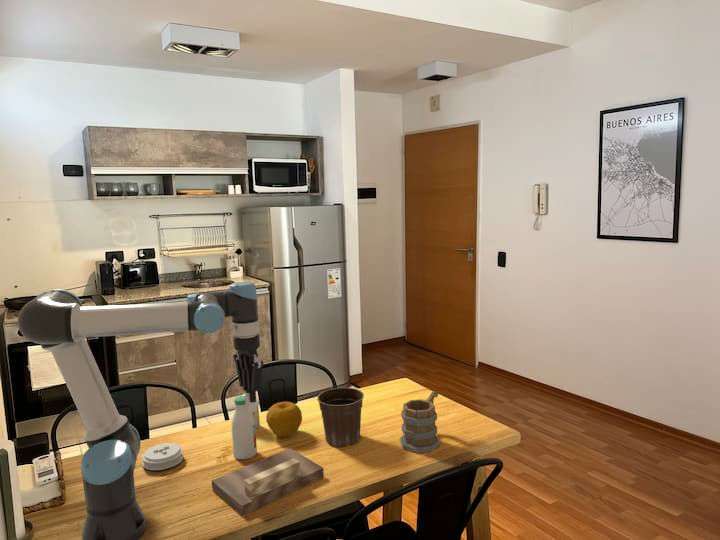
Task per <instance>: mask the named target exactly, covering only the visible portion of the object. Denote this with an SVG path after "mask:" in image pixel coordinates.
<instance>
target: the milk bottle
mask: <svg viewBox="0 0 720 540" xmlns="http://www.w3.org/2000/svg"><path fill="white" fill-rule="evenodd" d="M234 406H235V409H234V413H233V415H232V420H231V437H232V449H233V450H232V452H233V457H234V458H235V459H238V460H241V459H242V460H250V459H251V458H254V457H255V456H256V455H257V453H258V446H257V432H256V430H257V429H255V420H254V417H253V415H252V413H247V412H246V401H245V396H242V395H240V396H236V397H235V398H234Z"/></svg>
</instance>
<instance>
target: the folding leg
mask: <svg viewBox="0 0 720 540" xmlns="http://www.w3.org/2000/svg"><path fill="white" fill-rule="evenodd" d="M298 475H300V462H299V461H298V460H296V459H294V458H293V459H291V460H289V461H286V462H284V463H282V464H279V465H277V466H275V467H272V468H270V469H268V470H266V471H263V472H261V473H259V474H256V475H254V476H252V477H249V478H247V479H245V480H244V486H245V493H246V494H247V495H248V496H249V497H252V496H254V495H257V494H259V493H261V492H263V491H265V490H267V489H269V488H272V487H274V486H276V485H278V484H280V483H282V482H285V481H287V480H289V479H291V478H293V477H295V476H298Z"/></svg>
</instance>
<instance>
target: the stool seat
mask: <svg viewBox="0 0 720 540" xmlns="http://www.w3.org/2000/svg"><path fill="white" fill-rule="evenodd" d="M293 458H294V459H296V460H298V461H299V462H300V475H298V476H295V477H293V478H291V479H289V480H287V481H285V482H282V483H280V484H278V485H276V486H274V487H272V488H269V489H267V490H265V491H263V492H261V493H259V494H257V495H254V496H252V497H249V496H248V495H247V494H246V493H245V486H244V480H245V479H247V478H249V477H252V476H254V475H256V474H259V473H261V472H263V471H266V470H268V469H270V468H272V467H275V466H277V465H279V464H282V463H284V462H286V461H289V460H291V459H293ZM324 475H325V473H324V467H322V466H321V465H319V464H318V463H316V462H314V461H313V460H311V459H309V458H307V457H306V456H304V455H303V454H301V453H299V452H297V450H294V449H293V448H291V447H289V448H286V449H284V450H282V451H279V452H277V453H274V454H272V455H269V456H266V457H264V458H262V459H260V460H257V461H255V462H253V463H251V464H248V465H245V466H243V467H240V468H238V469H235V470H233V471H231V472H229V473H226V474H223V475H221V476H219V477H216V478H214V479H212V480H211V487H212V489H211V490H212V491H213V492H214V493H215V494H217V495H218V497H220V498H221V499H223V501H225V502H226V503H227V504H228V505H230V507H232V508H233V509H234V510H235V511H237V512H238V513H239V514H240V515H241V516H242V517H244V516H245V515H248V514H250V513H253V512H254V511H256V510H258V509H260V508H262V507H264V506H266V505H268V504H270V503H273V502H274V501H277V500H278V499H281V498H283V497H285V496H287V495H289V494H292V493H293V492H295V491H298V490H299V489H302V488H304V487H306V486H308V485H310V484H312V483H314V482H316V481H318V480H320V479H322V478H324Z"/></svg>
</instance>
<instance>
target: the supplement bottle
mask: <svg viewBox="0 0 720 540" xmlns="http://www.w3.org/2000/svg"><path fill="white" fill-rule="evenodd" d="M241 396H245V393H243V394H242V395H241ZM256 407H257V411H254V412H252V415H253V417H254V420H255V430H257V429H259V428H260V426H261V423H260V412H259V402H258V400H257V399H256Z"/></svg>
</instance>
